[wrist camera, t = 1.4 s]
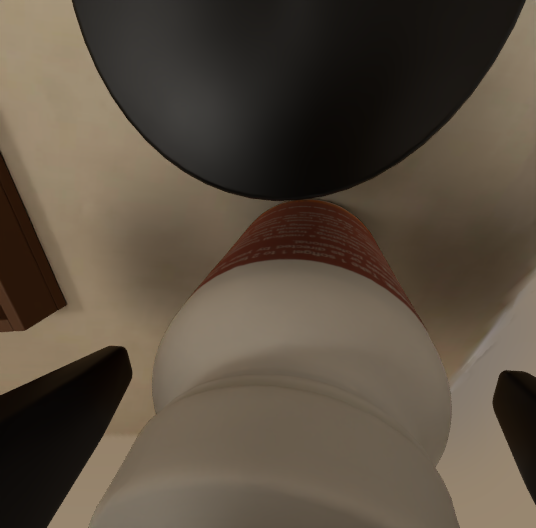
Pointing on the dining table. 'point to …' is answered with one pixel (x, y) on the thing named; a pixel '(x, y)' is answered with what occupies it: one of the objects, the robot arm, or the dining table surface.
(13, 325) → the walnut tray
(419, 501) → the pill bottle
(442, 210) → the dining table surface
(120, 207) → the dining table surface
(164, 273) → the dining table surface
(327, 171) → the charcoal tin
